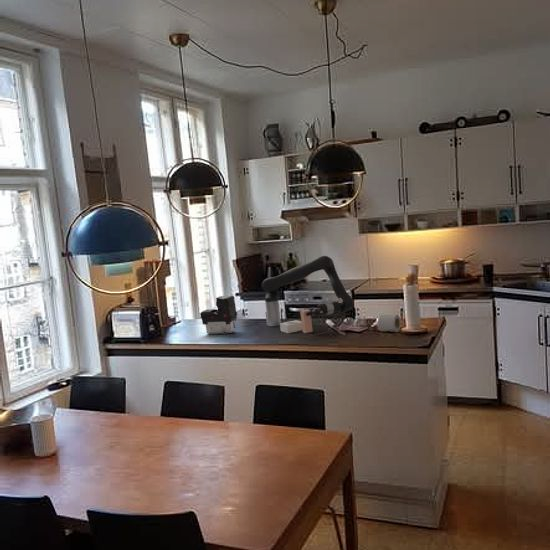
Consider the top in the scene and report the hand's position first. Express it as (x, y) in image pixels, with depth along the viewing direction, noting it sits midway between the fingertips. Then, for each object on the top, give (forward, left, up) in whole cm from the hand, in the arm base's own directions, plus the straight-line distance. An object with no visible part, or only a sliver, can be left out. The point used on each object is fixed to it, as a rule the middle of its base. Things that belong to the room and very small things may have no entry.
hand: (303, 313), depth 346 cm
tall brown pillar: (+1, +2, -12) cm, 13 cm away
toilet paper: (+48, +23, -13) cm, 54 cm away
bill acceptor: (-60, -18, -13) cm, 64 cm away
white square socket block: (-12, +2, -13) cm, 18 cm away
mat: (+1, +2, -13) cm, 13 cm away
